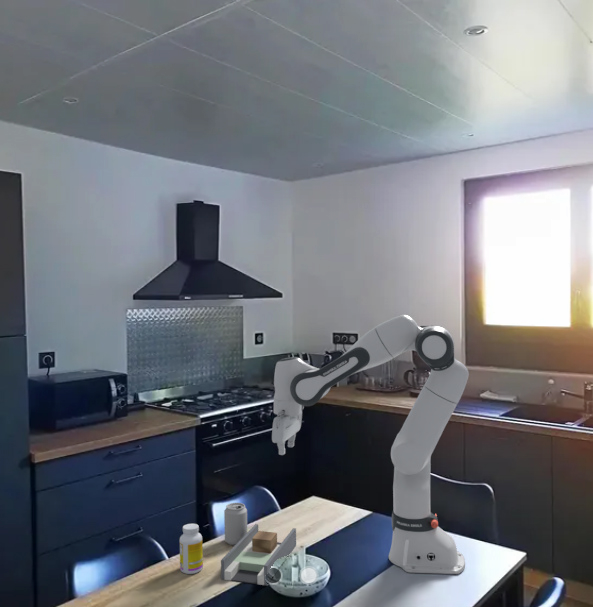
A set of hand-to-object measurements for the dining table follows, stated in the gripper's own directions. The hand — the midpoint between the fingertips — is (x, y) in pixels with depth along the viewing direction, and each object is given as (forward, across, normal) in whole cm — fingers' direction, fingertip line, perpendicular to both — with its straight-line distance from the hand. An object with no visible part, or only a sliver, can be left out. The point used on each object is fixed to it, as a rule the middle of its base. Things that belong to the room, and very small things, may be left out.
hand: (286, 450), depth 189 cm
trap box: (+31, -12, +4) cm, 34 cm away
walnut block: (+29, -9, +4) cm, 30 cm away
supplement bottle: (+32, -22, +22) cm, 45 cm away
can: (+32, 0, +17) cm, 36 cm away
